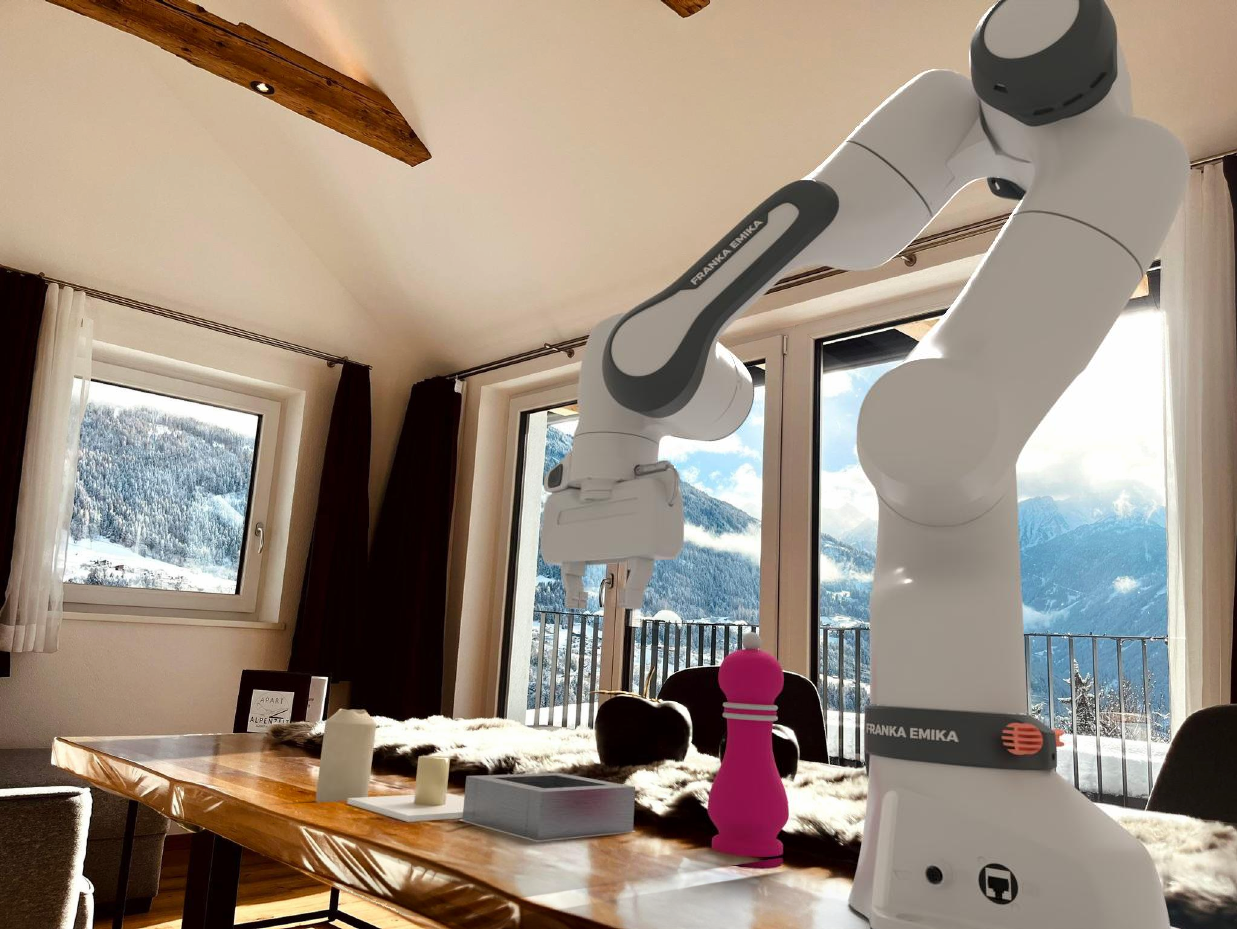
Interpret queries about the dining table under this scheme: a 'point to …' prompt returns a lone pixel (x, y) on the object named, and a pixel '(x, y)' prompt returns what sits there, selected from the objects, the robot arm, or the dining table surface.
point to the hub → (420, 796)
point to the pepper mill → (749, 759)
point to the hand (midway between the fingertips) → (601, 608)
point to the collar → (548, 805)
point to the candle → (346, 756)
